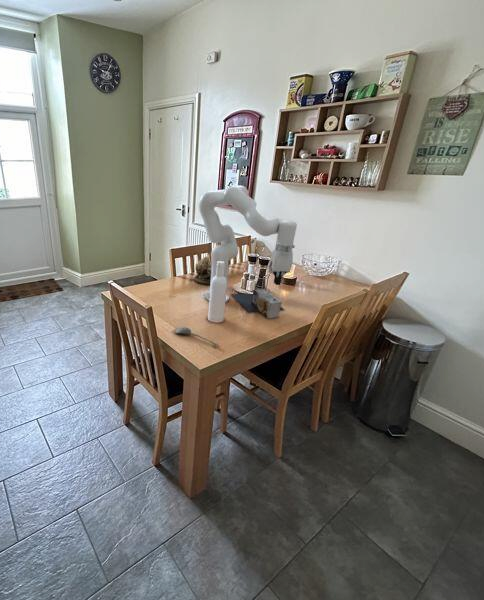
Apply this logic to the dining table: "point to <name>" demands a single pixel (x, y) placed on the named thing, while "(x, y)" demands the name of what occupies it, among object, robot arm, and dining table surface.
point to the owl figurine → (203, 271)
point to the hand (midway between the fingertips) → (276, 283)
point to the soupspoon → (188, 331)
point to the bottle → (217, 295)
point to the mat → (246, 301)
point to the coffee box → (266, 303)
